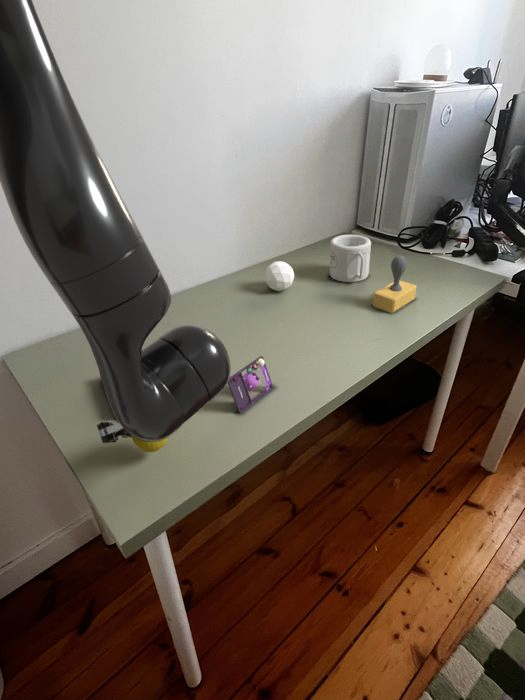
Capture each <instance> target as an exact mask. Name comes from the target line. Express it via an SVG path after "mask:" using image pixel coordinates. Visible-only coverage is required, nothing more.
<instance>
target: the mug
mask: <svg viewBox="0 0 525 700" xmlns="http://www.w3.org/2000/svg"><path fill="white" fill-rule="evenodd" d="M329 247H330V249H329V250H330V251H329V252H330V253H329V276H330V277H331V278H332V279H333V280H335V281H337V282H341V283H342V282H343V283H358V282H361V281H363V280H365V279H366V278H368V277H369V273H370V263H371V262H370V261H371V250H372V241H371V240H370V238H369V237H367V236H364V235H360V234H342V235H338V236H335V237H332V239H331V240H330V245H329Z"/></svg>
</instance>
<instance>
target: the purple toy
mask: <svg viewBox="0 0 525 700" xmlns="http://www.w3.org/2000/svg"><path fill="white" fill-rule="evenodd" d="M258 368H260V370H261V372H262V374H263V377H264V380H265V382H266V383H265V384H266V386H265V390H263V391H262V392H261V393H260V394H259V395H257V396H256V397H254V398H253V399H252V398H251V395H250V392H251V391H253V390H254V389H256V388H257V387H258V385H260V384H261V381H260V379H261V378H262V375H261V376H258V375H257V373H258ZM244 371H246V373H244V375H243V372H244ZM253 371H254V372H253ZM227 385H228V387H229V390H230V393H231V396H232V398H233V401H234V403H235V406H236V409H237V412H238V413H241V414H242V413H243V412H245V410H247V409H248V408H250V407H251V406H252V405H253V404H254V403H256V402H257V401H258V400H260V399H261V398H262V397H264V396H265V395H266V394H267V393H269V392H270V391H272V389H273V388H274V385H273V382H272V379H271V376H270V374H269V370H268V367H267V365H266V362H265V358H264V356H262V355H260V356H259V357H257V358H256V359H254V360H253V361H251V362H250V363H248V364H247V365H246V366H244V367H243V368H241V369H240V370H238V371H237V372H235V373H234V374H232V375H230V378H229V381H228V383H227Z"/></svg>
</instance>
